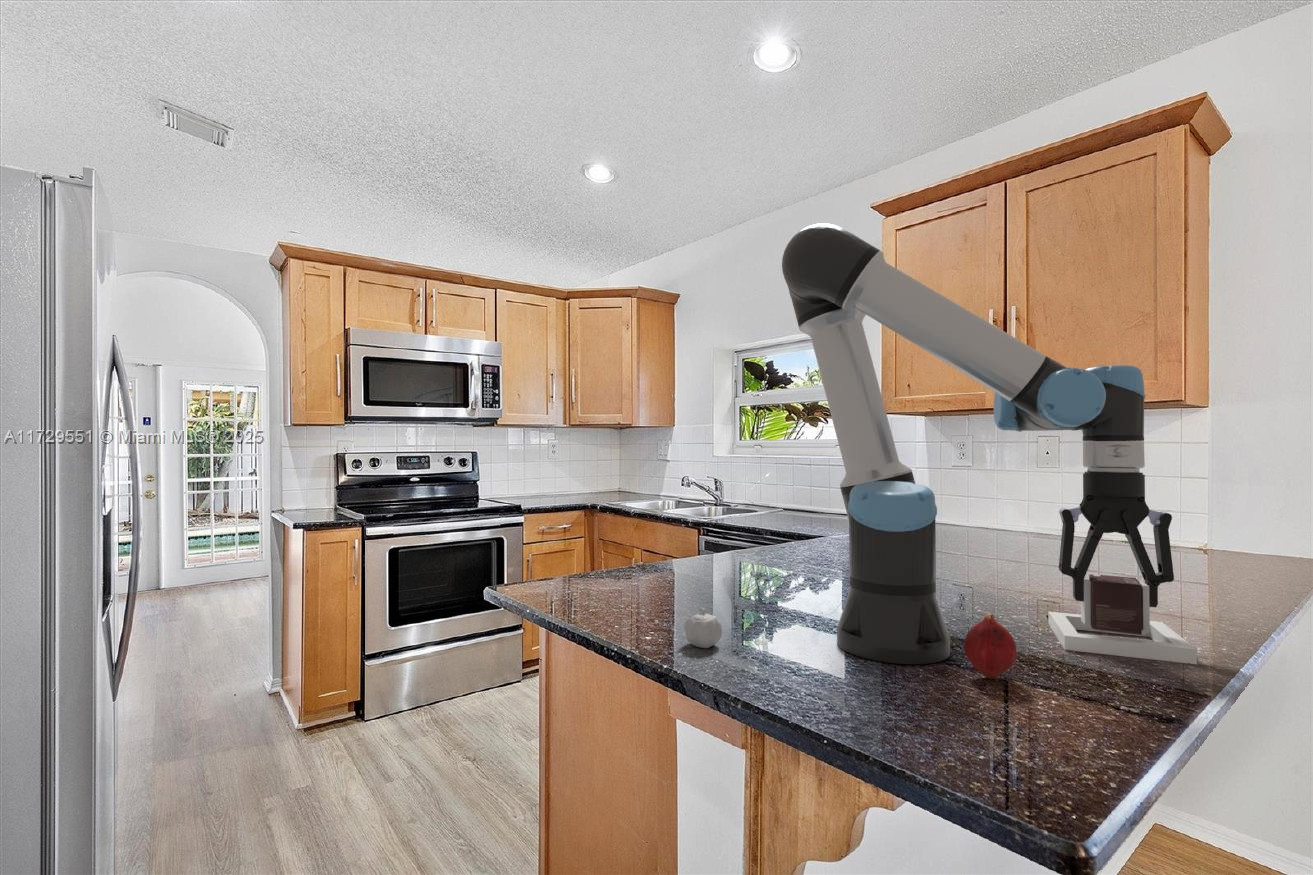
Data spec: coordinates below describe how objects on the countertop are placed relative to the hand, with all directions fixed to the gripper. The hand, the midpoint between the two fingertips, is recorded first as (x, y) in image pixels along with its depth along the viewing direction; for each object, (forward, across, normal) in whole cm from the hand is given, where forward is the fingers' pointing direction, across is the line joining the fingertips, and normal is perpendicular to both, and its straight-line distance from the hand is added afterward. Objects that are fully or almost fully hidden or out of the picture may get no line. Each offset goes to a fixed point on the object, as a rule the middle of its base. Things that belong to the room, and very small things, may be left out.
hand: (1114, 625), depth 95 cm
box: (+1, 0, 0) cm, 1 cm away
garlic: (+3, -55, -27) cm, 61 cm away
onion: (+3, -18, -25) cm, 31 cm away
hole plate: (+2, 0, 0) cm, 2 cm away
